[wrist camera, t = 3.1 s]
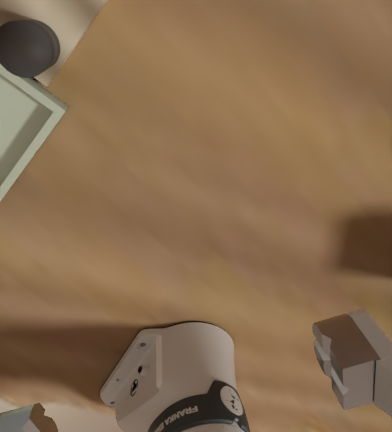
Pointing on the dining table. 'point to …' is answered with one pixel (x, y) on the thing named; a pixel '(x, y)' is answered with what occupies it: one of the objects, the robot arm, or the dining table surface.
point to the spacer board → (58, 19)
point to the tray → (23, 123)
